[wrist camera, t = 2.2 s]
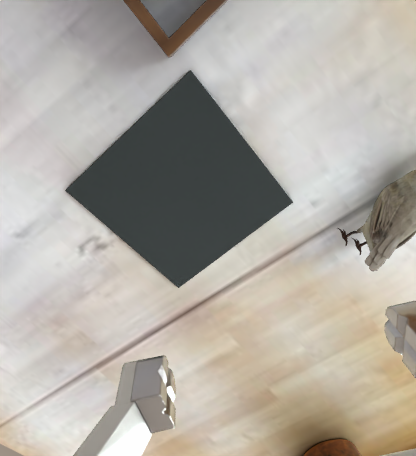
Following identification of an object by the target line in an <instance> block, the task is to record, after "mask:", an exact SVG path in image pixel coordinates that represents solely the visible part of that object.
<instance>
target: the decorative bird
mask: <svg viewBox="0 0 416 456" xmlns="http://www.w3.org/2000/svg"><path fill="white" fill-rule="evenodd" d="M338 229H339V228H338ZM339 230H340V231H341V233H342V237H343V239H344V240H345V241H346V245H347V242H348V241H347V237H348V236H350V235H351V234H354V233H361V232H363V234H364V237H365V239H366V242H364V243H362V244H360V243H359V241H358V240H357V239H356V240H357V241H356V240H355V239H353V238H352V239H353V240H354V241H355V243H356V247H357V249H358V250H359V251H360V255H361V246H363V245H365V244H368V247H369V250H370V255H369V256H368V257H367V258H366V260H365V263H366V264H367V265H368V266H370V267H369V269H370V270H371V271H377V270H378V269H379V267H381V266H382V264H384V263H385V261H386V260H387V259H389V257H390V256H391V254H392V253H393V252H394V250H395V249H397V248H399V247H400V246H402V245H403V244H405V243H406V242H407V241H408V240H410V239H411V238H412V237H413V236H414V235H415V233H416V170H414V171H411V172H410V173H408V174H406V175H405V176H404V177H402V178H400V179H399V180H397V181H395V182H393V183H391V184H390V185H388V186H387V187H385V188H384V189H383V190H382V192H381V193H380V195H379V196H378V198H377V200H376V202H375V204H374V206H373V209H372V211H371V213H370V215H369V217H368V218H367V220H366V223H365V224H364V225H363V226H362V227H361V228H359V229H358V230H357V231H353V232H350V233H349V234H347V235H346V232H345V231H344V230H343V231H344V232H343V231H342V230H341V229H339Z"/></svg>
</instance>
